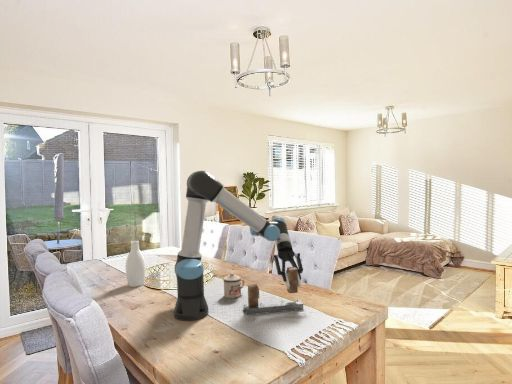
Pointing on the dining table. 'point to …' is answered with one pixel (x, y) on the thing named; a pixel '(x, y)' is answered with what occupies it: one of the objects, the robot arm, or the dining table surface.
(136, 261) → the bottle
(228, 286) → the teacup with lid
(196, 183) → the robot arm
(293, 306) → the rail
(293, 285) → the brown wooden upright block
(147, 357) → the dining table surface
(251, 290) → the post
